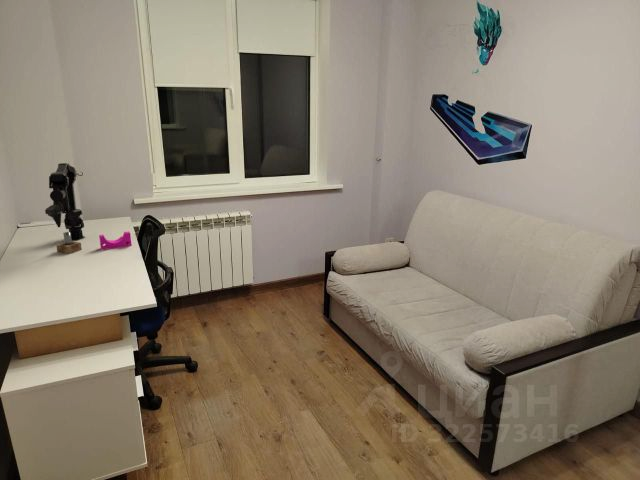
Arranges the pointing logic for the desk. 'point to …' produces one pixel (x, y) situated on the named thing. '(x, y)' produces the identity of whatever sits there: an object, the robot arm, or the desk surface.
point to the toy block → (116, 241)
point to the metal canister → (67, 238)
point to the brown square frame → (69, 247)
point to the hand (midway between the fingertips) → (66, 227)
